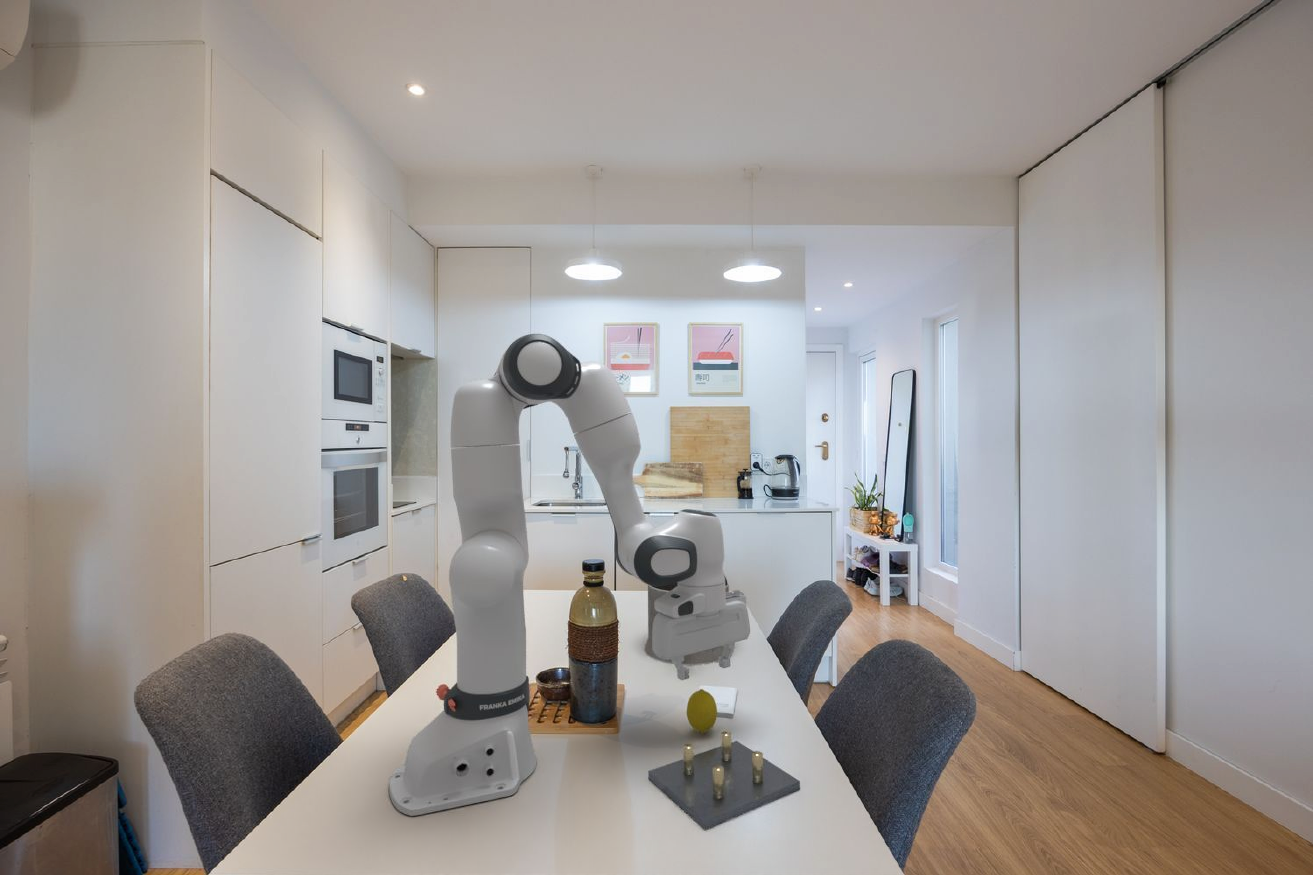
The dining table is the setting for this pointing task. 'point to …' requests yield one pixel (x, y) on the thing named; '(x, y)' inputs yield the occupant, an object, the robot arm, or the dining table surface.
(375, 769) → the dining table surface
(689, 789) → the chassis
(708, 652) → the pitcher
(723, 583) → the robot arm
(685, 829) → the dining table surface
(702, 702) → the lemon
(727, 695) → the external hard drive
